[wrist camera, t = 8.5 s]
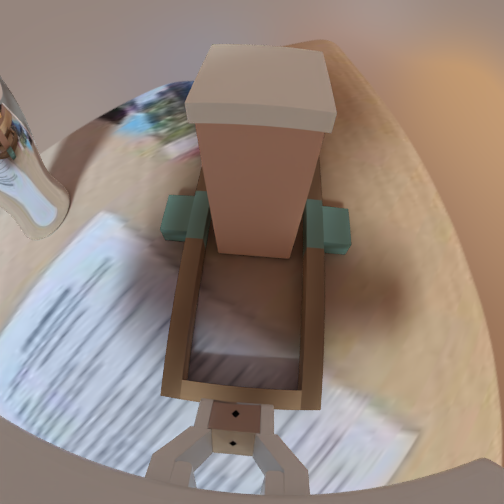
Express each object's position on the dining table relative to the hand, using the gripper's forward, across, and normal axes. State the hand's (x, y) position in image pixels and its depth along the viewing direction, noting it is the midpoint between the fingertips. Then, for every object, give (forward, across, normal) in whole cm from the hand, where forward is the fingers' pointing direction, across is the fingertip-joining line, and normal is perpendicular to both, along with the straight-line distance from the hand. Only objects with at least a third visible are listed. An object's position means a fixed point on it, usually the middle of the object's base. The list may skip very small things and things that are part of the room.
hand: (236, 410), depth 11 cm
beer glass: (+14, +20, -4) cm, 25 cm away
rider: (+13, 0, -4) cm, 14 cm away
